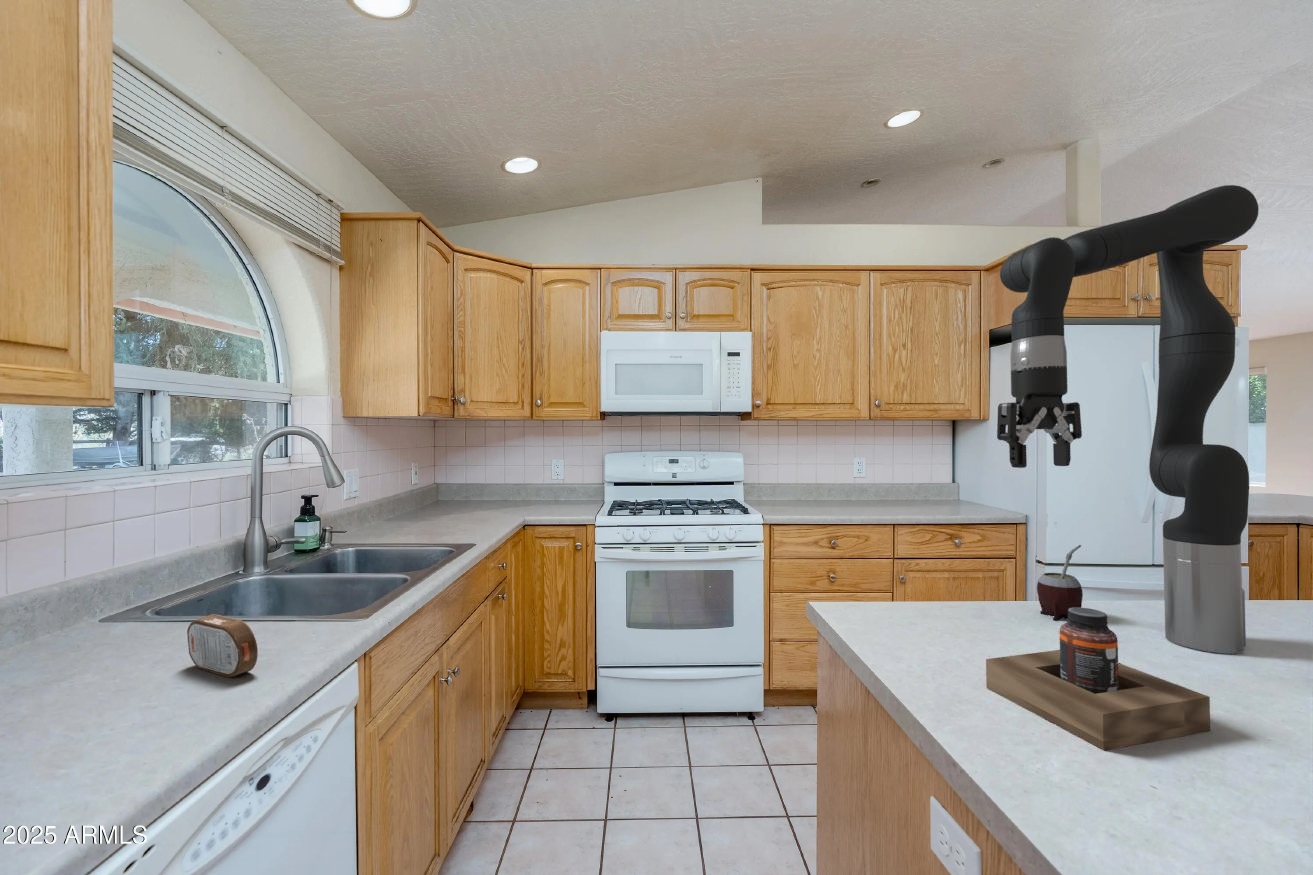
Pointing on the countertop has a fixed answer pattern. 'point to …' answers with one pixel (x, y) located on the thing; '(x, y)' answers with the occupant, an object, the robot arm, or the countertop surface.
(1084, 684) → the supplement bottle
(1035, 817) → the countertop surface
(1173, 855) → the countertop surface
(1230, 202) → the robot arm
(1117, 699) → the walnut holder
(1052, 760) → the countertop surface
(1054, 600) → the mate gourd
